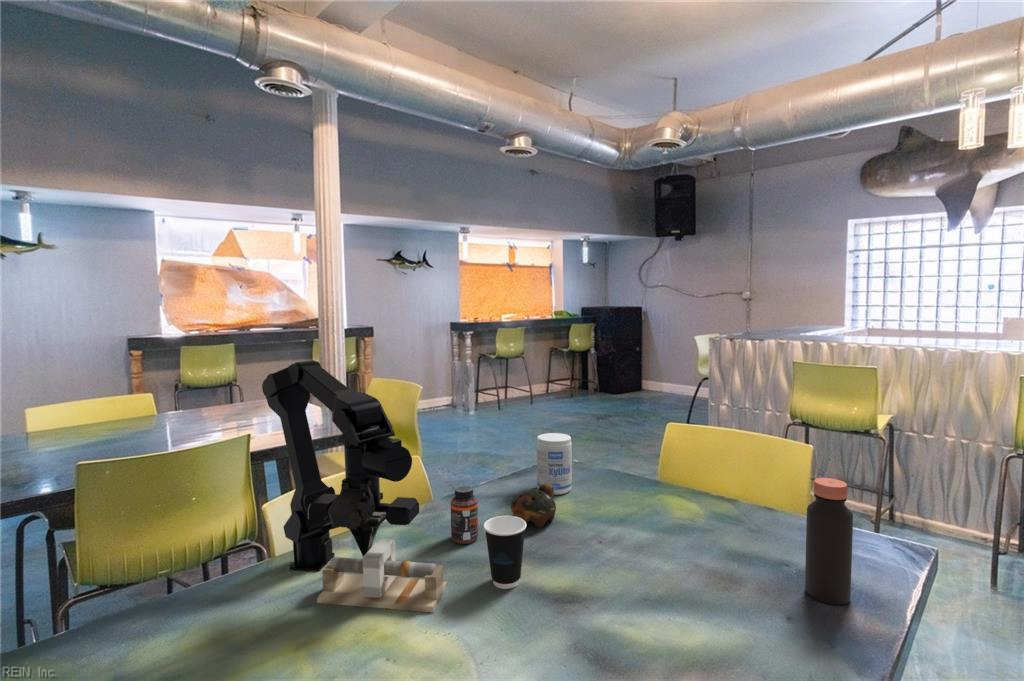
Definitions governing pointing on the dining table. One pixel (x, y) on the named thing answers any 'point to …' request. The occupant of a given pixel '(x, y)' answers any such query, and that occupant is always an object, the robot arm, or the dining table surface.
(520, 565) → the dixie cup
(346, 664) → the dining table surface
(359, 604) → the pipe rig
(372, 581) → the collar
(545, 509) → the ocarina
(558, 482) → the supplement tub
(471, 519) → the supplement bottle
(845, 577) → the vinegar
